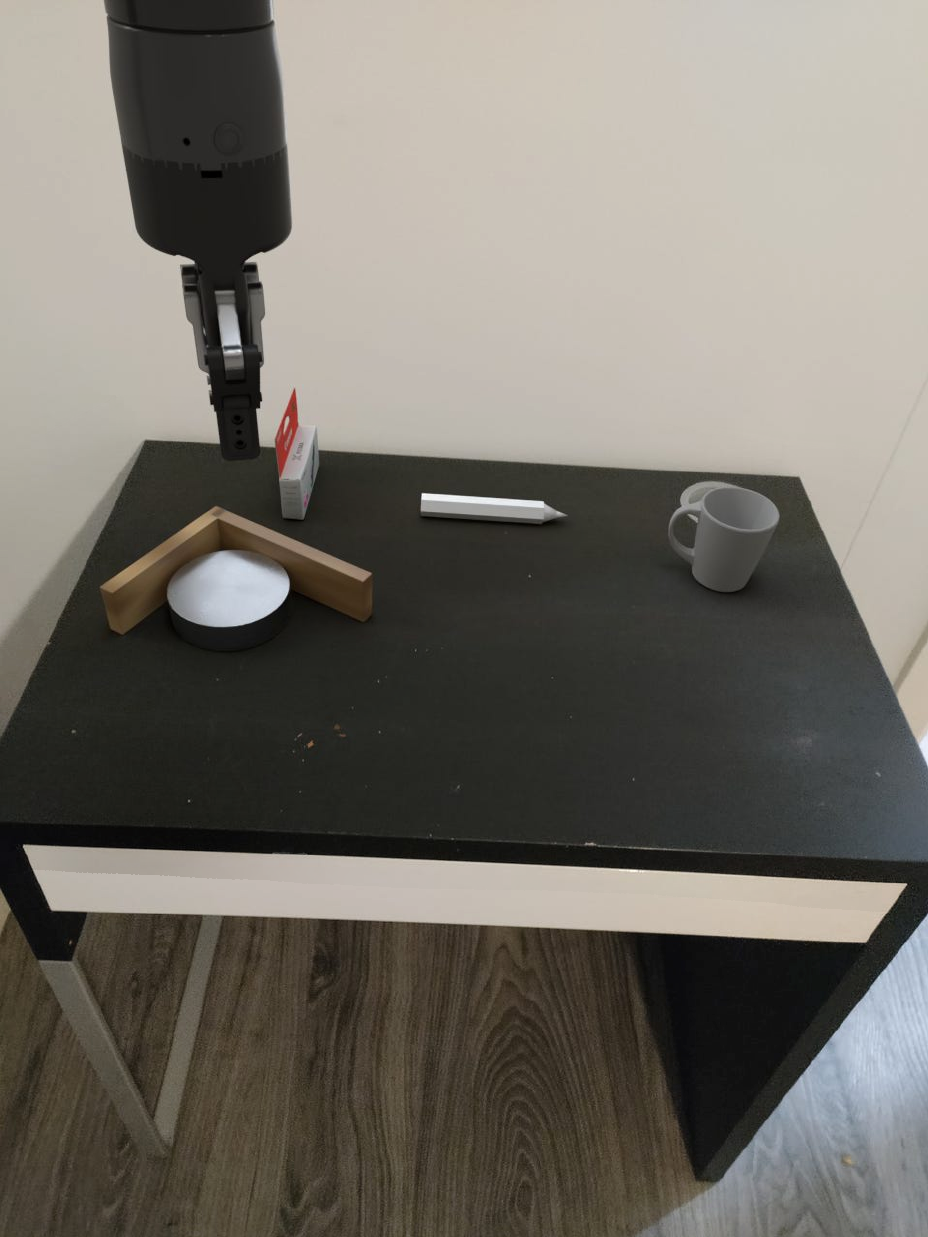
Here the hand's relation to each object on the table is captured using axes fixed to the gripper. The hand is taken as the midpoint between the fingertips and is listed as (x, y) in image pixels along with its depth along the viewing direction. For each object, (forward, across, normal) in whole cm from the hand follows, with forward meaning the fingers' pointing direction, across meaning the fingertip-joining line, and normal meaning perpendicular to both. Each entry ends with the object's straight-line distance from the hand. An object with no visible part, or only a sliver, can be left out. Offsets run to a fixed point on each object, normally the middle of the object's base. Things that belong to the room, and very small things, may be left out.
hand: (240, 453), depth 55 cm
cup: (+29, -16, +46) cm, 57 cm away
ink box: (+29, -38, +7) cm, 49 cm away
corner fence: (+29, -18, -1) cm, 34 cm away
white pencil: (+29, -30, +27) cm, 50 cm away
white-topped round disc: (+29, -20, -2) cm, 35 cm away
